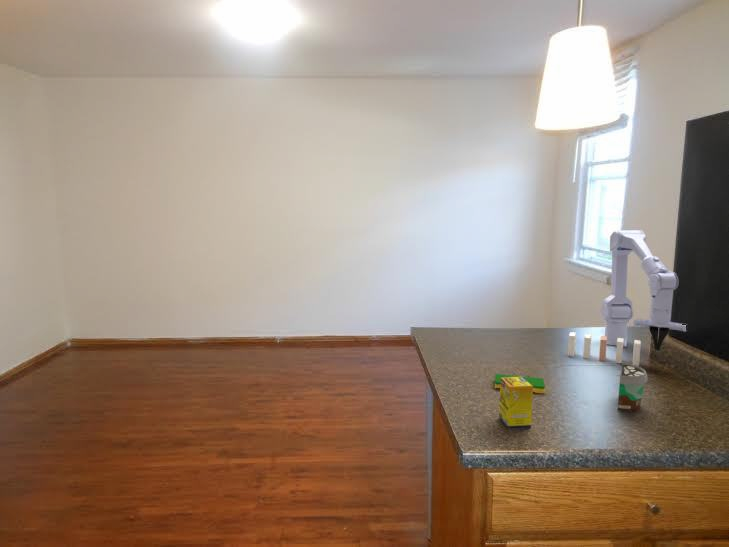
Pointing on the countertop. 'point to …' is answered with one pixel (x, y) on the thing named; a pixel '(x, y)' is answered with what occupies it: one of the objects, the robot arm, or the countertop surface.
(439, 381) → the countertop surface
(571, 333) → the domino
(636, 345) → the domino
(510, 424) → the supplement box
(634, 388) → the food container
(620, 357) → the domino
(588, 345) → the domino
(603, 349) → the domino
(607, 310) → the robot arm
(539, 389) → the dish sponge
